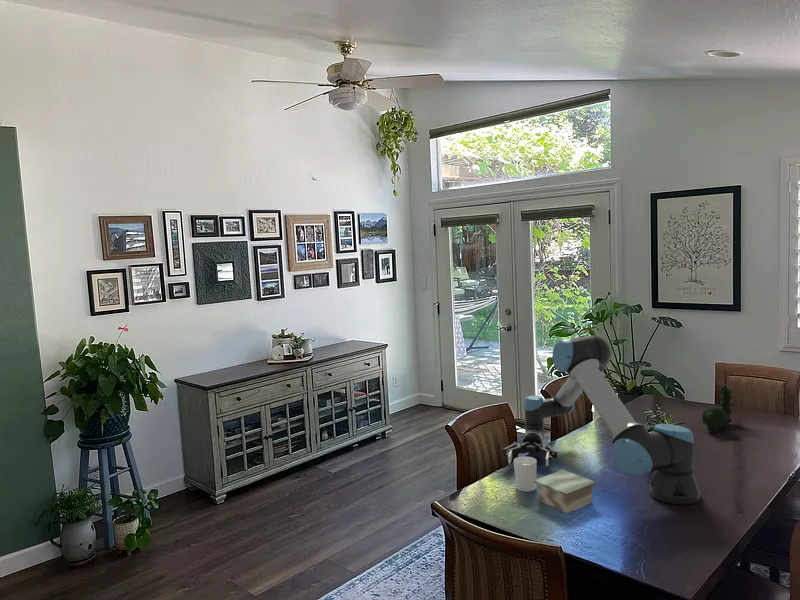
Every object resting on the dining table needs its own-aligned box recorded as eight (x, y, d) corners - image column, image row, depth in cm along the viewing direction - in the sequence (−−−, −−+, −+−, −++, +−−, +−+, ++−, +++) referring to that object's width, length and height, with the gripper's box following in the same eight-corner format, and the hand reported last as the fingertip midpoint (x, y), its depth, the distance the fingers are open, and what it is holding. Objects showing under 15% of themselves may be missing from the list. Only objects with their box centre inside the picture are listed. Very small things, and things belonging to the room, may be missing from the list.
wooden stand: (596, 502, 192) (596, 482, 191) (567, 515, 184) (566, 493, 183) (563, 489, 203) (563, 469, 203) (534, 500, 196) (533, 480, 195)
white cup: (539, 492, 202) (538, 464, 201) (516, 493, 202) (515, 465, 201) (534, 482, 210) (534, 455, 209) (512, 483, 210) (511, 456, 209)
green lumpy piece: (715, 423, 268) (695, 432, 251) (716, 382, 268) (696, 388, 250) (738, 427, 262) (719, 437, 244) (739, 385, 261) (720, 391, 244)
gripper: (565, 452, 231) (563, 473, 211) (501, 449, 239) (494, 468, 219) (564, 434, 231) (562, 453, 211) (501, 431, 238) (493, 449, 218)
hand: (527, 461), depth 215 cm, fingers open, 13 cm apart
